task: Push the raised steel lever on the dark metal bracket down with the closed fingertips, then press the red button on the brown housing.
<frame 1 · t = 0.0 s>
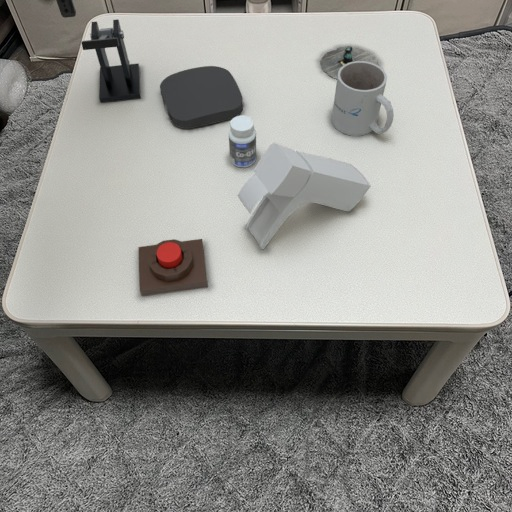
hand: (70, 1, 83), 22 cm above the table, tool pointing down, fingers open, 8 cm apart
lever: (104, 39, 93), point 13 cm above the table, hinge at 25.0°
sculpture: (349, 64, 109), on the table
mug: (359, 126, 98), on the table
bracket: (120, 85, 106), on the table
button: (169, 255, 77), point 4 cm above the table, slide at 0.1 cm
button box: (173, 269, 80), on the table
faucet: (303, 217, 86), on the table
pill bottle: (243, 159, 94), on the table
media streaming box: (201, 102, 103), on the table
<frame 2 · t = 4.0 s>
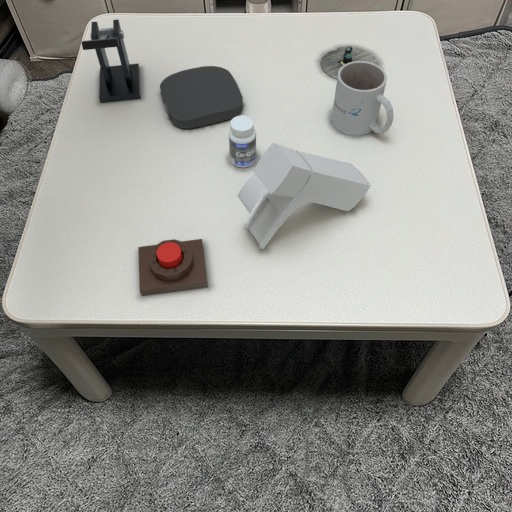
nothing on the table moved.
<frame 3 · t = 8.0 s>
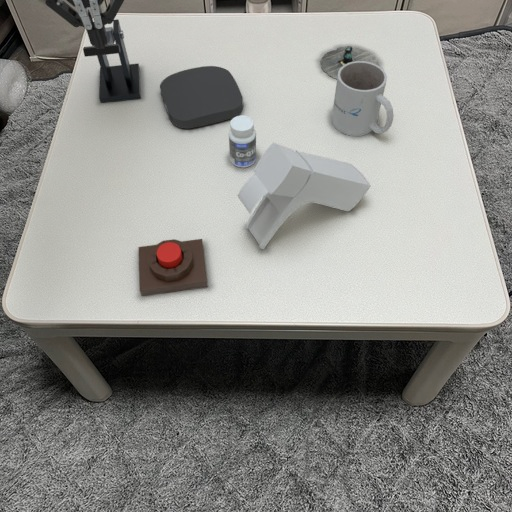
hand: (100, 45, 88), 15 cm above the table, tool pointing down, fingers closed
lever: (104, 42, 93), point 13 cm above the table, hinge at 19.1°, touching gripper
everything else where it was.
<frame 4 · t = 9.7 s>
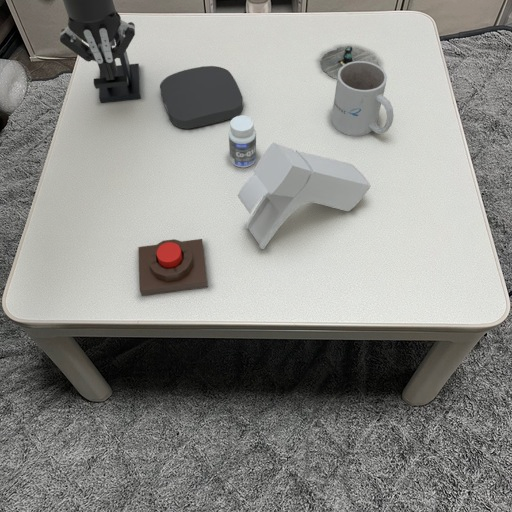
hand: (110, 77, 94), 9 cm above the table, tool pointing down, fingers closed
lever: (109, 57, 96), point 9 cm above the table, hinge at -19.0°, touching gripper
everything else where it was.
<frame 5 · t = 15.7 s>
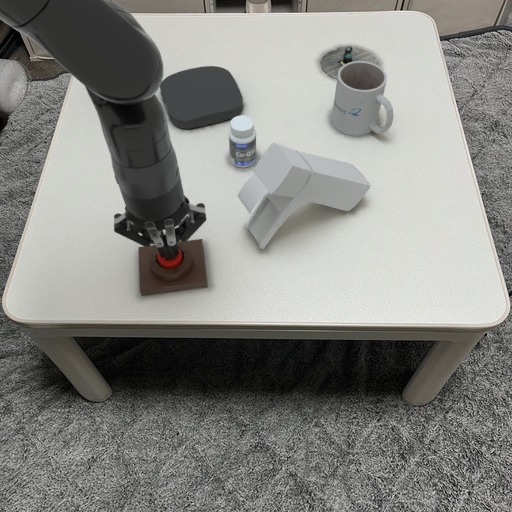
hand: (170, 254, 77), 4 cm above the table, tool pointing down, fingers closed
lever: (109, 59, 96), point 9 cm above the table, hinge at -26.9°
button: (170, 257, 77), point 3 cm above the table, slide at -0.6 cm, touching gripper
everything else where it was.
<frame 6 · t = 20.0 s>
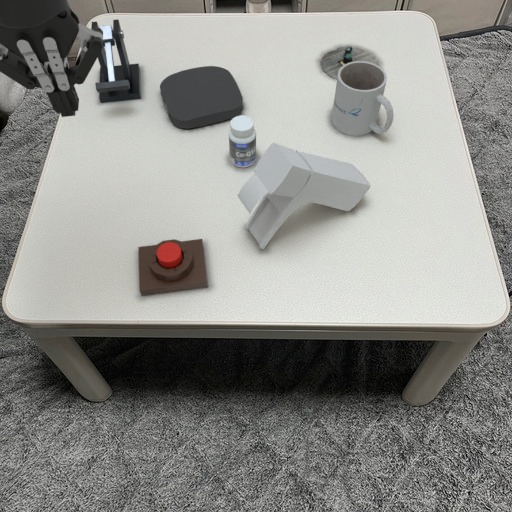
hand: (69, 111, 61), 27 cm above the table, tool pointing down, fingers closed
button: (169, 255, 77), point 4 cm above the table, slide at 0.1 cm
everything else where it was.
at the end: lever at -27° (first picture: +25°); button pushed in 1.1 cm at the most during the clip, back to where it started at the end; button slide at 0.1 cm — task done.
